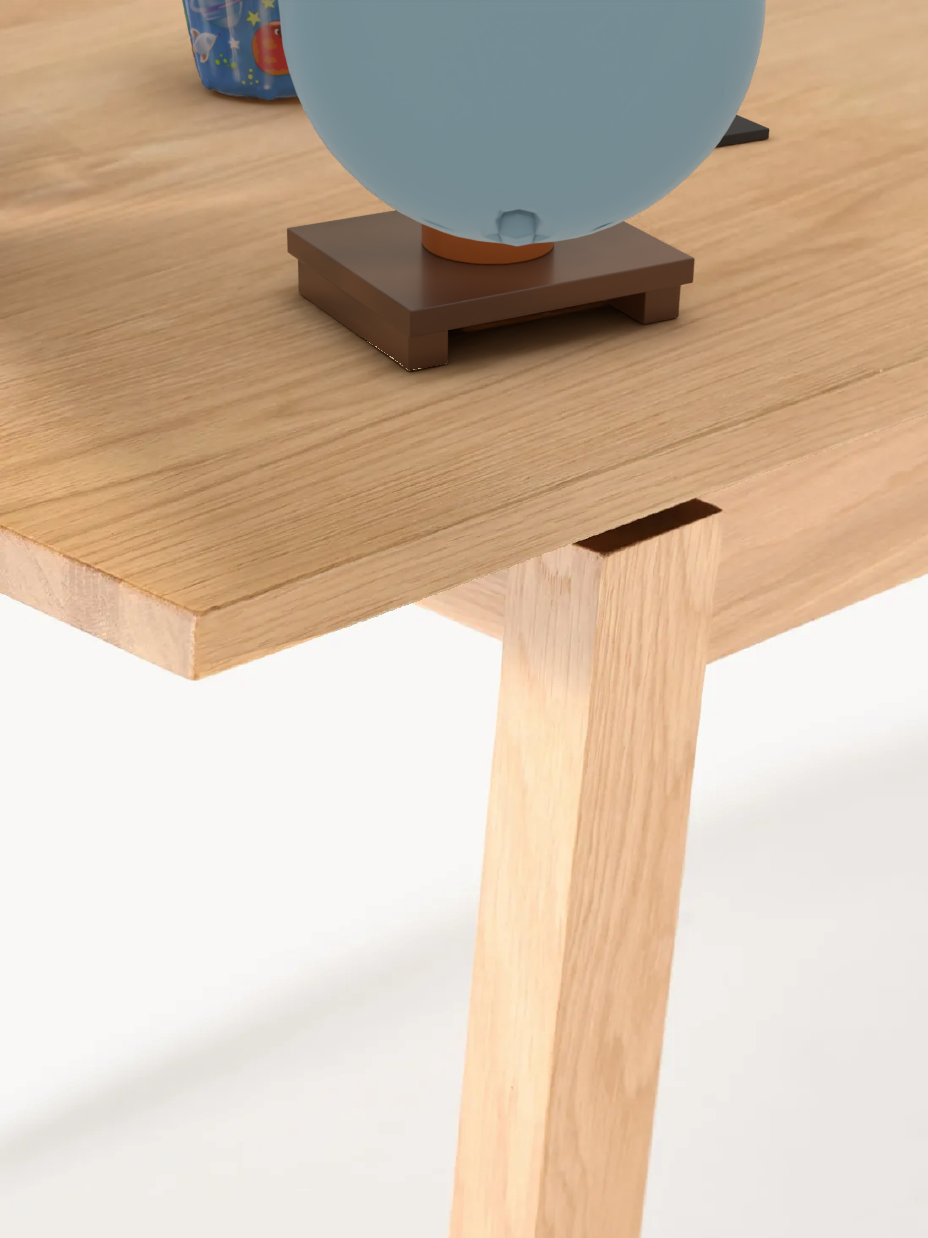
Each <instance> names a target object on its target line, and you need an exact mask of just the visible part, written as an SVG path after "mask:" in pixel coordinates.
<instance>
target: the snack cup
mask: <svg viewBox="0 0 928 1238" xmlns="http://www.w3.org/2000/svg"><path fill="white" fill-rule="evenodd" d="M181 1H182V2H181V3H182V7H183V12H184V18H185V23H186V26H187V27H186V28H187V32H188V36H189V39H190V40H189V41H190V44H191V52H192V57H193V59H194V62H195V63H194V64H195V67H196V70H197V74H198V76H199V78H200V80H201V84H202V86H203V87H204V88H206V89H207V90H208V91H215V92H218V93H220V94H222V95H226V96H230V97H232V98H233V97H234V98H250V99H261V100H265V101H272V100H284V99H290V98H292V99H293V98H294V99H295V98H298V95H297V93H296V90H295V87H294V84H293V81H292V78H291V75H290V73H289V69H288V65H287V61H286V57H285V53H284V49H283V42H282V34H281V23H280V12H279V4H278V0H181Z"/></svg>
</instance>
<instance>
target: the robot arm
mask: <svg viewBox="0 0 928 1238" xmlns="http://www.w3.org/2000/svg"><path fill="white" fill-rule="evenodd" d="M766 2H767V1H766V0H278V4H279V12H280V23H281V34H282V42H283V49H284V53H285V57H286V61H287V65H288V69H289V73H290V75H291V78H292V81H293V84H294V87H295V90H296V93H297V95H298V97H297V98H298V100H299V102H300V104H301V107H302V109H303V111H304V113H305V115H306V117H307V119H308V120H309V123H310V125H311V126H312V127H313V129H314V131H315V132H316V134H317V136H318V137H319V139H320V140H321V142H322V143H323V144H324V146H325V148H326V149H327V150H328V151H329V153H330V154H331V155H332V156H333V157H334V159H336V161H337V162H338V163H339V164H340V166H342V167H343V169H344V170H345V171H346V172H347V173H348V174H350V175H351V176H352V177H353V178H354V179H355V180H356V182H358V183H359V184H360V185H361V186H363V188H364V189H365V190H367V191H368V192H369V193H371V194H372V195H374V196H375V197H376V198H377V199H379V200H380V201H381V202H382V203H384V204H385V205H387V206H388V207H390V208H392V209H393V210H397V211H398V212H400V213H402V214H404V215H406V216H408V217H410V218H411V219H413V220H415V221H417V222H419V223H421V224H424V225H426V226H429V227H431V228H434V229H436V230H439V231H441V232H444V233H447V234H450V235H454V236H457V237H462V238H467V239H472V240H477V241H484V242H494V243H504V244H508V245H513V246H522V245H527V244H532V243H544V242H556V241H562V240H568V239H574V238H578V237H582V236H586V235H590V234H593V233H595V232H598V231H601V230H604V229H606V228H609V227H612V226H614V225H616V224H619V223H621V222H623V221H625V222H626V221H627V220H629V219H631V218H633V217H635V216H637V215H639V214H641V213H643V212H644V211H646V210H648V209H650V208H651V207H652V206H654V205H655V204H656V203H658V202H659V201H661V200H662V199H664V198H665V197H666V196H668V195H669V194H670V193H672V192H674V190H675V189H676V188H677V187H678V186H680V185H681V184H682V183H683V182H684V181H685V180H687V179H688V178H689V177H690V176H691V175H692V174H693V173H694V172H695V171H696V170H697V169H698V168H699V167H700V166H701V165H702V164H703V163H704V162H705V160H707V158H709V156H710V155H712V153H713V151H714V150H715V149H716V148H717V147H716V146H717V145H718V143H719V142H720V140H721V139H722V137H723V136H724V135H725V133H726V132H727V130H728V128H729V127H730V125H731V123H732V122H733V120H734V118H735V116H736V115H738V112H739V110H740V108H741V106H742V105H743V102H744V100H745V98H746V95H747V93H748V91H749V88H750V86H751V83H752V80H753V76H754V74H755V69H756V67H757V63H758V60H759V56H760V53H761V46H762V41H763V36H764V29H765V28H764V27H765V22H766V21H765V19H766V6H767V5H766V4H767V3H766Z"/></svg>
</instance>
